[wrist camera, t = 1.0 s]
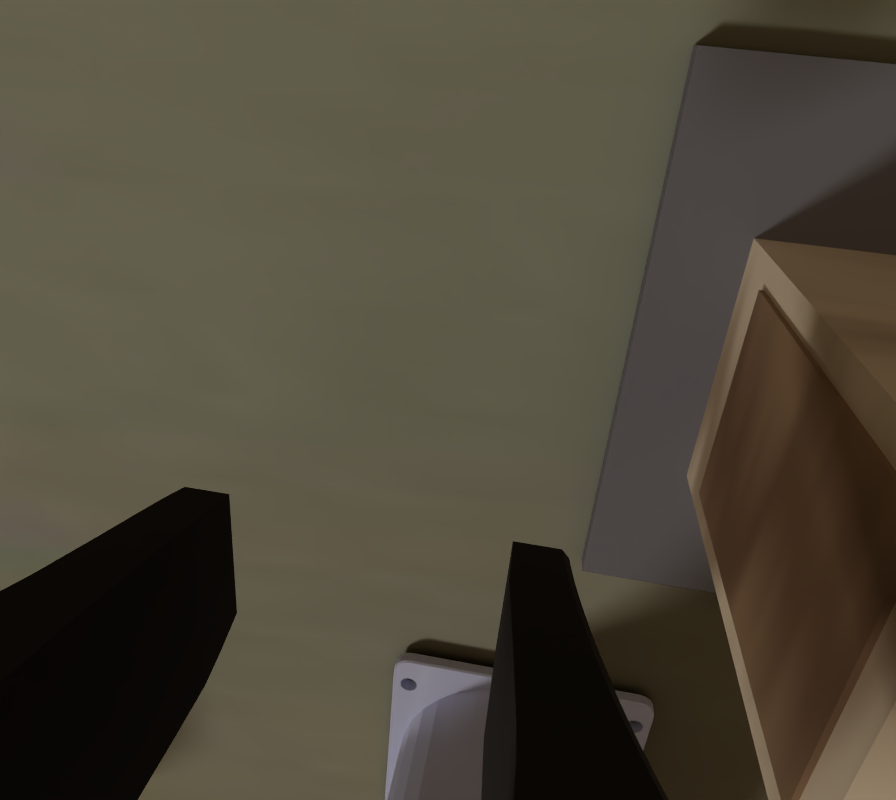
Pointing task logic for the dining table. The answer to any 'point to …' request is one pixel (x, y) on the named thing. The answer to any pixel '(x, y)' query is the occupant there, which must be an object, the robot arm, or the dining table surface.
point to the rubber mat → (730, 269)
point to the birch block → (808, 515)
